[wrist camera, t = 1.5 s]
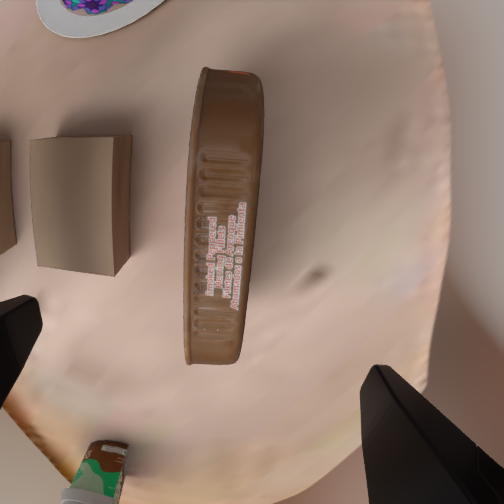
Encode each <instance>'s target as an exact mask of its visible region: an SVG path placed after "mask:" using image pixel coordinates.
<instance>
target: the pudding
mask: <svg viewBox="0 0 504 504" xmlns="http://www.w3.org/2000/svg"><path fill="white" fill-rule="evenodd" d="M62 1H63V2H64V4H65V5H66V7H67V8H69V9H71V10H73V11H74V10H77V9H80V8H84V9H85V11H86V12H87V13H88V14H99V13H102V12H106V11H107V10H108V9H109V8H110V7H111V6H113V5H114V4H115V3H127V2H129V1H131V0H62ZM163 1H164V0H134V1H133V2H131V3H129V4H128V5H126V6H124V7H122V8H120V9H117V10H115V11H112V12H109V13H106V14H102V15H97V16H80V15H76V14H73V13H71V12H69V11H68V10H66V9H65V8H64V6H63V5H62V4H61V2H60V0H36V6H37V12H38V14H39V17H40V20H41V21H42V22H43V24H44V25H45V26H46V27H47V28H48V29H49V30H51V31H52V32H53V33H56V34H58V35H61V36H64V37H71V38H88V37H93V36H98V35H103V34H105V33H108V32H111V31H114V30H117V29H119V28H122V27H124V26H126V25H128V24H130V23H132V22H134V21H136V20H137V19H139V18H141V17H142V16H144V15H146V14H147V13H149V12H150V11H151V10H152V9H154V8H155V7H157V6H158V5H159V4H161V3H162V2H163Z"/></svg>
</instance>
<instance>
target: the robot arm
mask: <svg viewBox="0 0 504 504" xmlns="http://www.w3.org/2000/svg"><path fill="white" fill-rule="evenodd" d="M42 326H43V322H42V317H41V313H40V308H39V303H38V301H37V299H36V298H34V297H32V296H29V295H21V296H18V297H15V298H12V299H9V300H6V301H3V302H0V409H1V407H2V405H3V404H4V402H5V400H6V398H7V396H8V394H9V393H10V391H11V389H12V387H13V385H14V384H15V382H16V380H17V378H18V377H19V375H20V373H21V371H22V369H23V367H24V365H25V363H26V361H27V359H28V357H29V355H30V353H31V350H32V348H33V346H34V344H35V342H36V340H37V338H38V336H39V334H40V332H41V330H42ZM360 409H361V437H362V449H363V457H364V464H365V472H366V479H367V488H368V497H369V504H504V468H503V467H501V466H500V465H499V464H497V462H495V461H494V460H493V459H492V458H490V456H489V455H487V454H486V453H485V452H484V451H483V450H482V449H481V448H480V447H479V446H476V444H475V443H474V442H473V441H472V440H471V439H470V438H469V437H467V436H466V435H465V434H464V433H463V432H462V431H461V430H460V429H459V428H458V427H457V426H455V425H454V424H453V423H452V422H451V421H450V420H449V419H448V418H446V417H445V416H444V415H443V414H442V413H441V412H440V411H439V410H438V409H436V407H434V406H433V405H432V404H431V403H430V402H429V401H428V400H427V399H426V398H424V397H423V396H422V395H421V394H420V393H419V392H418V391H417V390H416V389H414V388H413V387H412V386H411V385H410V384H409V383H408V382H407V381H406V380H404V379H403V378H402V377H401V376H400V375H399V374H398V373H397V372H395V371H394V370H393V369H392V368H391V367H390V366H388V365H378V364H376V365H373V366H372V367H371V369H370V371H369V373H368V375H367V377H366V379H365V381H364V383H363V384H362V387H361V390H360Z"/></svg>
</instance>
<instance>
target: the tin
mask: <svg viewBox="0 0 504 504" xmlns="http://www.w3.org/2000/svg"><path fill="white" fill-rule="evenodd" d="M263 134H264V95H263V88H262V83H261V81H260V79H259V78H258V77H257V76H256V75H254V74H252V73H247V72H239V71H227V70H214V69H210V68H208V67H204V68H203V69H202V71H201V74H200V78H199V80H198V85H197V91H196V96H195V103H194V109H193V116H192V124H191V133H190V143H189V156H188V168H187V186H186V207H185V236H184V291H183V303H184V316H183V319H184V351H185V360H186V364H187V365H191V364H212V365H229V364H233V363H235V362H236V361H237V360H238V358H239V356H240V352H241V347H242V341H243V334H244V327H245V318H246V310H247V300H248V293H249V282H250V275H251V265H252V256H253V247H254V237H255V227H256V216H257V206H258V195H259V184H260V173H261V163H262V150H263Z"/></svg>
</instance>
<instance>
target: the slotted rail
mask: <svg viewBox="0 0 504 504" xmlns="http://www.w3.org/2000/svg"><path fill="white" fill-rule="evenodd" d="M131 145H132V135H101V136H67V137H52V138H44V139H37V140H30V191H31V208H32V221H33V231H34V240H35V248H36V255H37V262H38V266H42V267H49V268H55V269H62V270H69V271H76V272H83V273H90V274H98V275H105V276H113V277H115V275H116V274H117V273H118V272H119V270H120V269H121V268H122V267H123V265H124V264H125V263H126V262H127V260H128V259H129V258H130V236H129V195H130V164H131ZM16 244H17V242H16V234H15V226H14V216H13V204H12V189H11V141H2V142H0V255H1V254H2V253H4V252H5V251H7V250H8V249H10V248H11V247H13V246H14V245H16Z"/></svg>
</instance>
